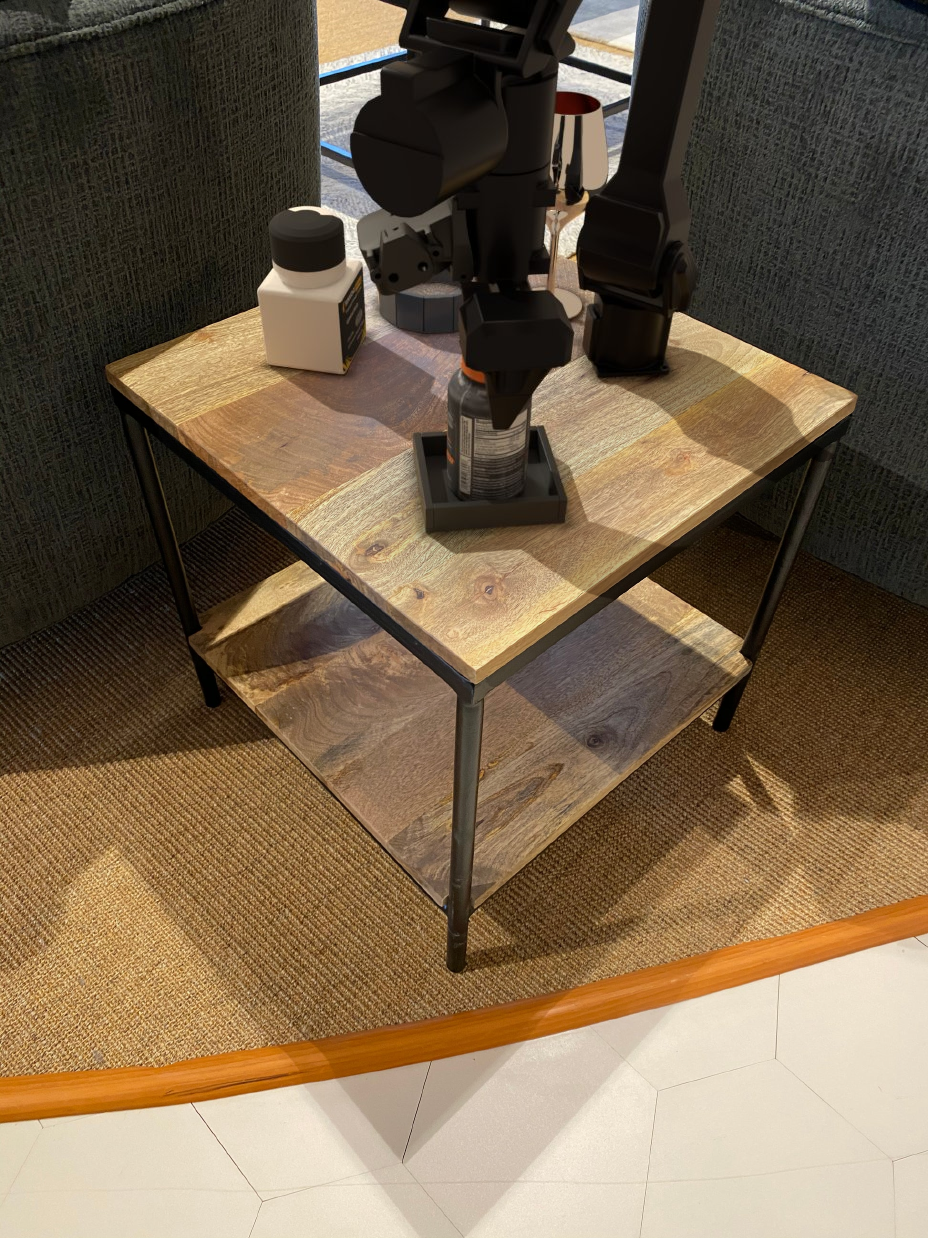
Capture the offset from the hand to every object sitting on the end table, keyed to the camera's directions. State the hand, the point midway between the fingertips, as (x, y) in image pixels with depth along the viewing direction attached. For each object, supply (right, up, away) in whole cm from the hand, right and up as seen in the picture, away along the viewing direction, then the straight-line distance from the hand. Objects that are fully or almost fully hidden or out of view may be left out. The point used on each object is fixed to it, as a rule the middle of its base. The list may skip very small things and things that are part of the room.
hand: (490, 389), depth 68 cm
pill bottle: (0, -6, +6) cm, 9 cm away
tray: (0, -6, +6) cm, 9 cm away
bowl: (-5, +14, +25) cm, 29 cm away
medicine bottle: (-15, +8, +20) cm, 26 cm away
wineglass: (+6, +14, +26) cm, 30 cm away
